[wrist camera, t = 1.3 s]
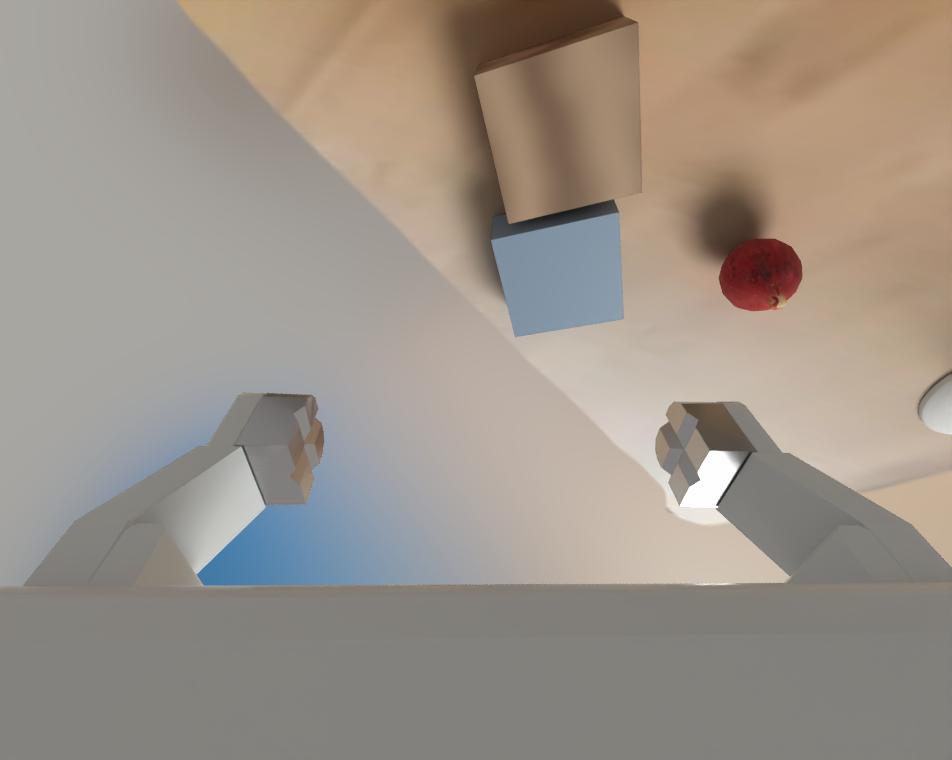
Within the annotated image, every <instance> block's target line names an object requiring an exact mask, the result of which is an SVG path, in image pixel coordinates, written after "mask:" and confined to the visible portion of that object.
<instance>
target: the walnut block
mask: <svg viewBox="0 0 952 760" xmlns="http://www.w3.org/2000/svg"><path fill="white" fill-rule="evenodd" d="M474 78H475V82H476V86H477V91H478V95H479V99H480V104H481V108H482V112H483V116H484V121H485V125H486V129H487V134H488V138H489V142H490V146H491V151H492V155H493V159H494V164H495V168H496V172H497V176H498V181H499V185H500V189H501V194H502V198H503V202H504V206H505V211H506V215H507V219H508V224H511V223H516V222H520V221H524V220H528V219H532V218H537V217H541V216H545V215H549V214H553V213H558V212H562V211H566V210H570V209H574V208H579V207H583V206H587V205H591V204H595V203H600V202H604V201H608V200H612V199H617V198H621V197H625V196H629V195H633V194H638V193H642V164H641V121H640V79H639V37H638V22H636V21H634V20H631V19H629V18H627V17H621V18H618V19H615V20H612V21H609V22H606V23H603V24H600V25H597V26H594V27H591V28H588V29H585V30H582V31H579V32H576V33H573V34H570V35H566V36H563V37H560V38H557V39H554V40H551V41H548V42H545V43H542V44H539V45H536V46H533V47H530V48H527V49H524V50H521V51H518V52H515V53H512V54H509V55H506V56H503V57H500V58H497V59H494V60H491V61H488V62H485V63H482V64H479V66H478V68H477V70H476V73H475V75H474Z"/></svg>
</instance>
